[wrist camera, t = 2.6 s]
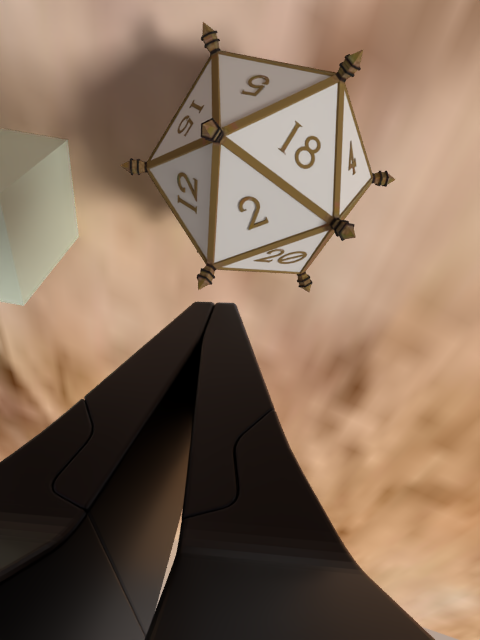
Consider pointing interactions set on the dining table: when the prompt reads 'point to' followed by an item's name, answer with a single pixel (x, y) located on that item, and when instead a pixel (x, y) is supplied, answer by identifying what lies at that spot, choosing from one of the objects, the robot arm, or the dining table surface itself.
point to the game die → (262, 163)
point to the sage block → (33, 211)
